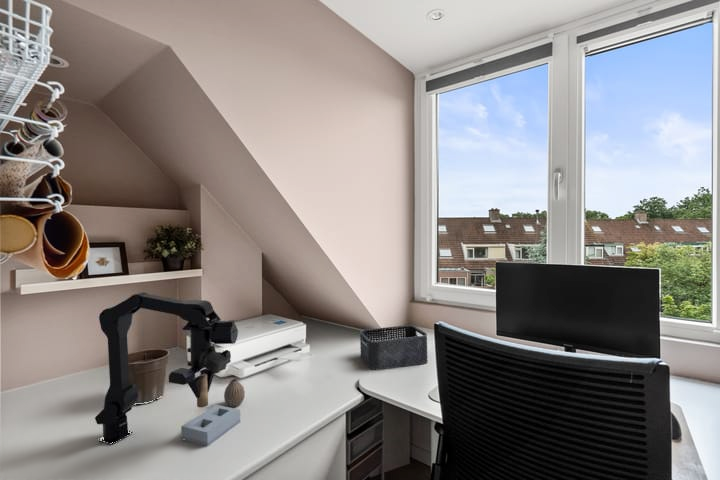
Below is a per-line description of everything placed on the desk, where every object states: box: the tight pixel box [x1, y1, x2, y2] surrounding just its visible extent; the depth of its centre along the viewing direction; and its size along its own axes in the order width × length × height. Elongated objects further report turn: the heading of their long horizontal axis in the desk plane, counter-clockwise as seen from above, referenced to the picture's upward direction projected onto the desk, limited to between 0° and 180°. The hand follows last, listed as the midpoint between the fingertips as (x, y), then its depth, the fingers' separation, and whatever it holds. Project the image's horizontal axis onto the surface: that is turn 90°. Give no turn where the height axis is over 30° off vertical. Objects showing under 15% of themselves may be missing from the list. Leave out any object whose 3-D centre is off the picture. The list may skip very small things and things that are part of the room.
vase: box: [223, 378, 246, 408], centre depth 129 cm, size 7×7×9 cm
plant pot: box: [128, 348, 171, 403], centre depth 135 cm, size 16×16×16 cm
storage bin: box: [359, 324, 428, 371], centre depth 171 cm, size 29×19×13 cm
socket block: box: [180, 404, 241, 447], centre depth 112 cm, size 10×14×4 cm
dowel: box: [196, 373, 209, 409], centre depth 109 cm, size 3×3×9 cm
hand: (202, 395), depth 109 cm, fingers closed on dowel, 3 cm apart
